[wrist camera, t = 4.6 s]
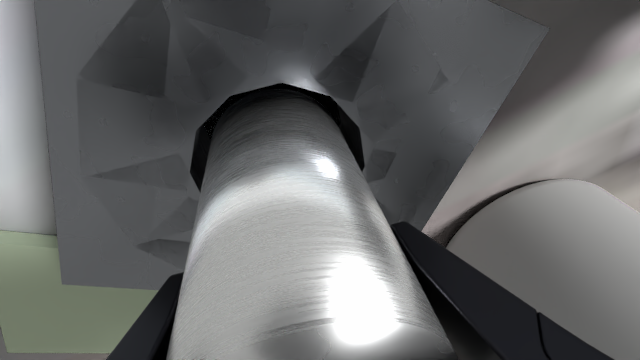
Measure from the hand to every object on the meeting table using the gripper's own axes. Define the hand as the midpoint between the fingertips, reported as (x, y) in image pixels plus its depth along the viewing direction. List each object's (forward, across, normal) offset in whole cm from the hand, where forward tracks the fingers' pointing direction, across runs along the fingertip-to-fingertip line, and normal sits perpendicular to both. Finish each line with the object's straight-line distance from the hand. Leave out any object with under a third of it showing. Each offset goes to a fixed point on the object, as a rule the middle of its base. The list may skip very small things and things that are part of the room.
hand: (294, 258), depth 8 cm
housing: (+8, 0, 0) cm, 8 cm away
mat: (+8, +12, +8) cm, 17 cm away
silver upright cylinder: (+6, 0, 0) cm, 6 cm away
